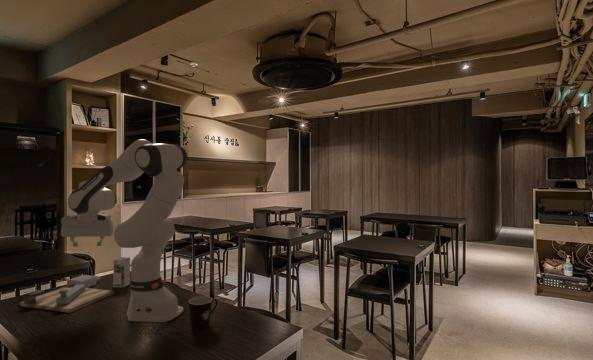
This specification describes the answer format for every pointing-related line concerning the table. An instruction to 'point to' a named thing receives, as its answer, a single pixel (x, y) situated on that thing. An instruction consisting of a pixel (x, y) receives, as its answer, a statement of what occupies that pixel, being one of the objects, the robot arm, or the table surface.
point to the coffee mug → (200, 312)
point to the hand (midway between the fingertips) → (87, 246)
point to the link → (71, 294)
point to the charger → (83, 280)
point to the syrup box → (121, 272)
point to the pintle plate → (73, 304)
